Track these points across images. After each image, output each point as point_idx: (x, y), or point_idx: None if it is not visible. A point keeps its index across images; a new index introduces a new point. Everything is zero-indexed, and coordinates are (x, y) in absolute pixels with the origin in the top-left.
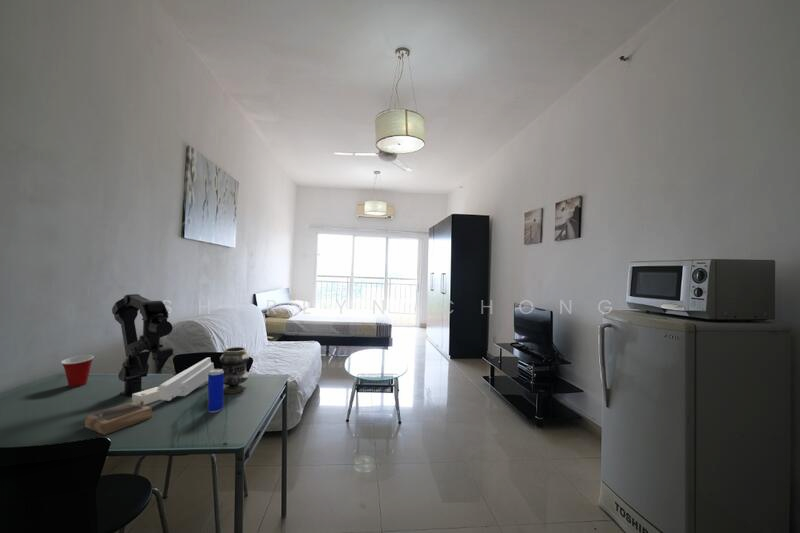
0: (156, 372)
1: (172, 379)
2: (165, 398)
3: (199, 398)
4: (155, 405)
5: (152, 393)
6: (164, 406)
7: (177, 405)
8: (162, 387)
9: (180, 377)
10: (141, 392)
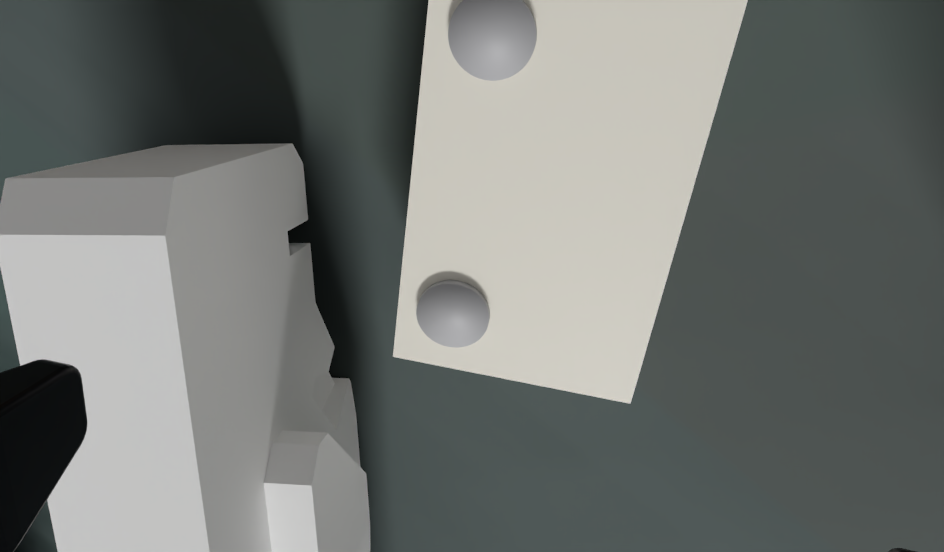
0: (27, 368)
1: (132, 459)
2: (186, 146)
3: (15, 360)
4: (278, 18)
5: (416, 153)
6: (122, 28)
7: (7, 111)
8: (85, 181)
9: (58, 542)
10: (638, 114)
